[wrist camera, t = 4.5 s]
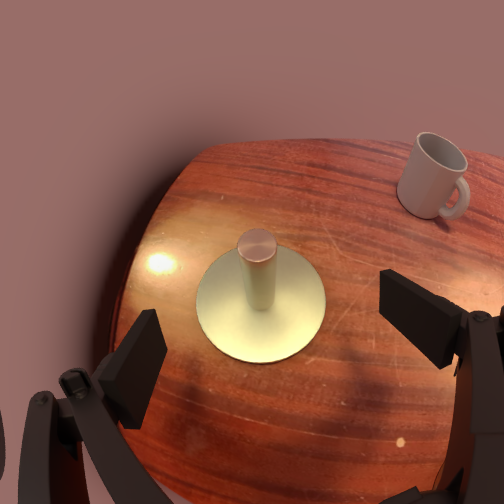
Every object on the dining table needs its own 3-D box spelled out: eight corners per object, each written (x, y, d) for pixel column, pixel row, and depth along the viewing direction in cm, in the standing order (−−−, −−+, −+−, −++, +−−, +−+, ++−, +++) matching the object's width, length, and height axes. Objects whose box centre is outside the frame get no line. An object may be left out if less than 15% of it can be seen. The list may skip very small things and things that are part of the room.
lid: (175, 322, 26) (131, 274, 17) (241, 232, 31) (231, 161, 23) (285, 388, 22) (297, 376, 14) (342, 280, 28) (372, 217, 19)
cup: (415, 175, 35) (436, 129, 28) (460, 224, 30) (491, 180, 23) (385, 189, 34) (405, 136, 26) (434, 244, 29) (468, 197, 21)
